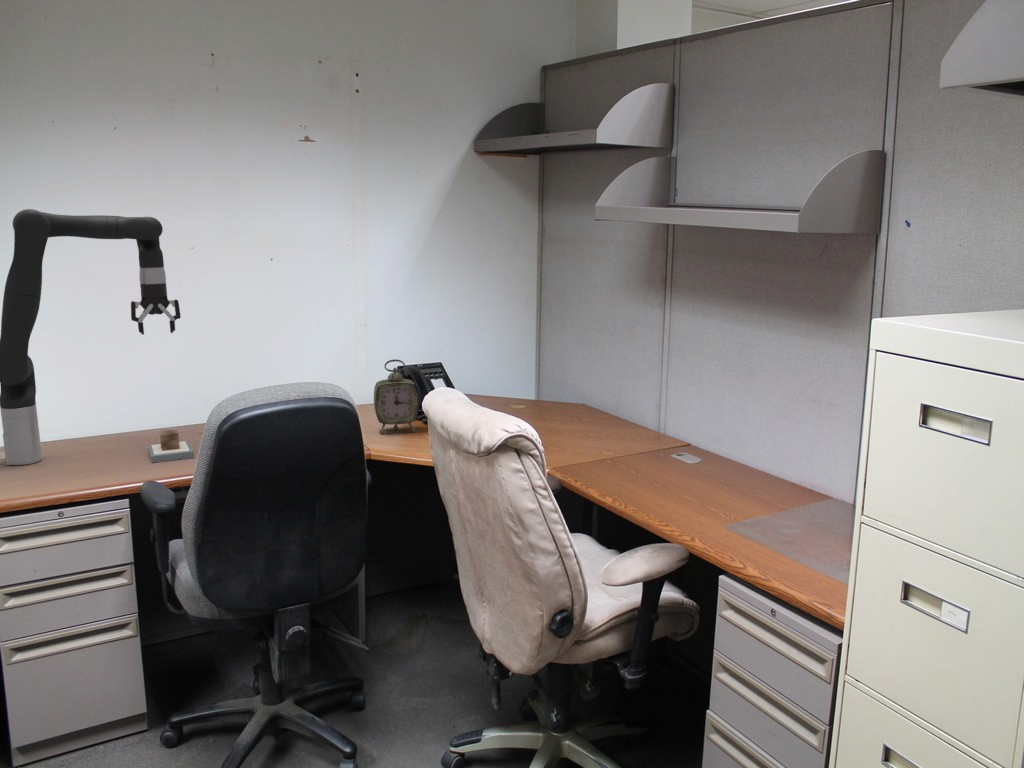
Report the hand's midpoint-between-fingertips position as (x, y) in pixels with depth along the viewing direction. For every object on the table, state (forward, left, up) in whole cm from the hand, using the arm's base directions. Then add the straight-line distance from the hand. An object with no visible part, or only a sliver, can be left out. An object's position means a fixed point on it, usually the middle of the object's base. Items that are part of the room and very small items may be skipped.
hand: (157, 333), depth 265 cm
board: (0, -14, -36) cm, 39 cm away
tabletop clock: (+72, -18, -36) cm, 83 cm away
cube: (0, -14, -34) cm, 37 cm away
